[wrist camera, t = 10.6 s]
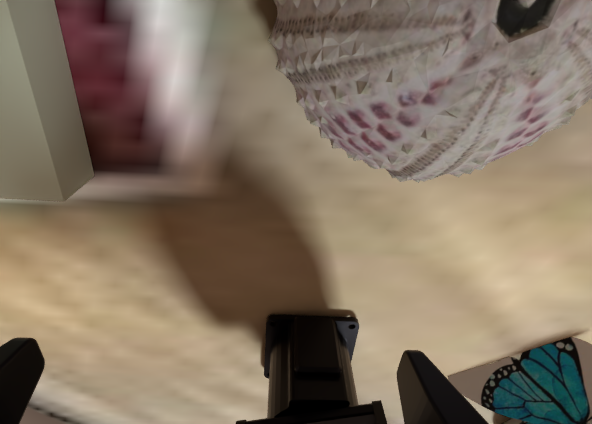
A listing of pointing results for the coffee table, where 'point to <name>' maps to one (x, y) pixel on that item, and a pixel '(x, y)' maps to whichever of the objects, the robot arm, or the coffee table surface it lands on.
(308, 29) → the sea urchin shell
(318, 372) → the robot arm
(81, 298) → the coffee table surface
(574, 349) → the decorative butterfly
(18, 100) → the sage base block
